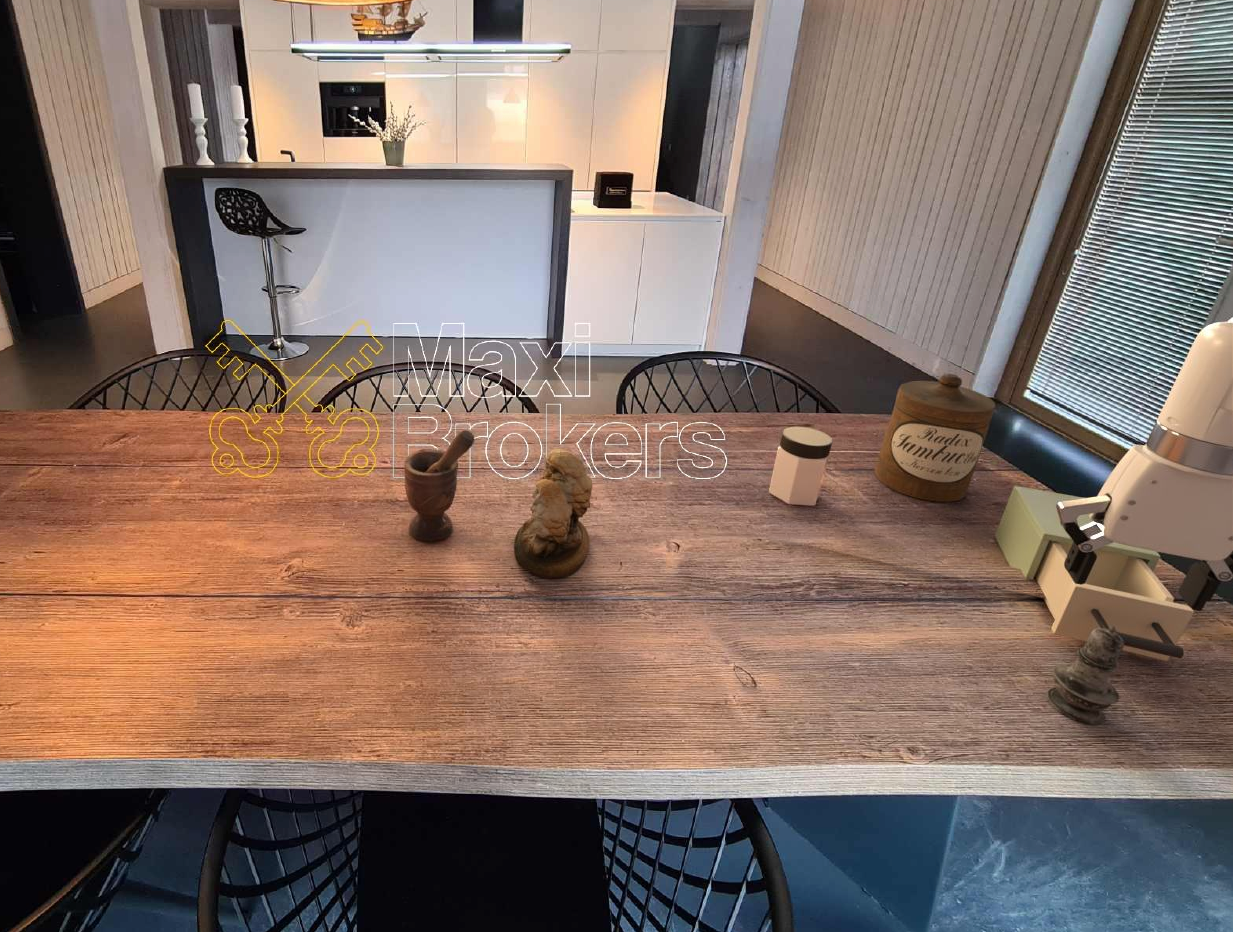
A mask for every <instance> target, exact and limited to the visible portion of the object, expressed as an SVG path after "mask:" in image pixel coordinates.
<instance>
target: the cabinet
mask: <svg viewBox="0 0 1233 932" xmlns="http://www.w3.org/2000/svg"><path fill="white" fill-rule="evenodd" d="M1084 498H1085V497H1081V496H1076V495H1069V494H1064V493H1059V492H1052V491H1048V490H1041V489H1036V488H1030V487H1025V486H1019V485H1013V488H1012V491H1011V493H1010V495H1009V498H1008V501H1007V503H1006V506H1005V509H1004V511H1003V513H1002V517H1001V518H1000V522H999V524H998V527H997V530H996V532H995V535H994V538H995V540H996V541H997V543H998V546H999V547H1000V550H1001V552H1002V553H1003V556H1004V557H1005V559H1006V562H1007V564H1008V565H1009V567H1010V568H1013V569H1017V570H1020V571H1021V573H1022V574H1023V577H1024V579H1026V580H1031V581H1034V578H1035V573H1036V571H1037V569H1038V566H1039V564H1040V562H1041V559H1042V557H1043V554H1044V552H1045V550H1046V547H1047V545H1048V543H1049V540H1052V541H1057V542H1062V543H1067V544H1073V542H1074V541H1073V540H1072V539H1071V537H1070V536H1069V535H1068V534H1067V532H1066V531H1065V529H1064V528H1063V527H1062V525H1061V523H1060V518H1059V515H1058V511H1057V508H1056V505H1057V504H1058V503H1059V502H1064V501H1071V500H1078V499H1084ZM1092 522H1094V521H1093V520H1091V518H1090V517H1089V514H1085V515H1080V516H1078V517H1077V523H1078V526H1079V527H1080V528H1081V527H1083V526H1085V525H1087V524H1090V523H1092ZM1097 550H1102V551H1107V552H1113V553H1118V554H1123V555H1128V556H1133V557H1138V558H1142V559H1143V561H1144V562H1145V563H1146V564H1147V566H1148V567H1149V568H1150V569H1151V571H1152V572H1153V573H1154V572H1155V569H1156V567H1157V566H1158V563H1159V560H1160V559H1161V557H1162V556H1161V554H1159V552H1157V551H1152V550H1147V549H1142V548H1138V547H1133V546H1128V545H1124V544H1119V543H1116V542H1113V543H1111V544H1108V545H1106V546H1104V547H1101V548H1099V549H1097Z"/></svg>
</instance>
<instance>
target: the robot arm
mask: <svg viewBox="0 0 1233 932" xmlns="http://www.w3.org/2000/svg"><path fill="white" fill-rule="evenodd" d="M1083 498H1084V499H1078V500H1071V501H1064V502H1059V503H1058V504H1057V505H1056V508H1057V511H1058V515H1059V518H1060V523H1061V525H1062V527H1063V528H1064V529H1065V531H1066V532H1067V534H1068V535H1069V536H1070V537H1071V539H1072V540H1073V541H1074V542H1073V544H1072V546H1071V548H1070V551H1069V553H1068V555H1067V557H1066V559H1065V562H1064V567H1065V569H1066V570H1067V571H1068V573H1069V575H1070V576H1071V578H1072V579H1073V581H1074V583H1076V584H1080V585H1082V584H1085V582H1086V580H1087V578H1088V576H1089V574H1090V572H1091V569H1092V567H1093V565H1094V563H1095V561H1096V559H1097V555H1096V554H1095V552H1094V550H1096V549H1099V548H1101V547H1104V546H1106V545H1108V544H1111V543H1113V542H1116V543H1119V544H1124V545H1128V546H1133V547H1138V548H1142V549H1147V550H1152V551H1157V553H1162V554H1168V555H1173V556H1178V557H1181V558H1182V557H1183V558H1188V559H1193V560H1198V561H1201V562H1197V561H1196V562H1194V564H1191V566H1190V567H1189V569H1188V571H1187V573H1186V575H1185V576H1184V579H1183V580H1182V582H1181V584H1180V586H1179V587H1178V590H1177V594H1178V595H1179V596H1180V598H1182V600H1183V601H1184V602H1185V604H1186V605H1187V606H1189V607H1190V608H1192V610H1193V611H1197V612H1201V611H1202V610H1203V609H1204V607H1205V605H1206V603H1207V602H1210V601H1211V600H1212V599H1213V597H1214V595H1215V593H1216V591H1217V590H1218V589H1219V586H1220V585H1221V582H1228V581H1231V580H1232V579H1233V317H1231V318H1230V319H1228V321H1219V322H1214V323H1212V324H1211V323H1210V324H1208V325H1206V326H1205V327H1203V328H1202V329H1201V330H1200V331H1199V332H1198V333H1197V336H1196V337H1195V339H1194V341H1193V343H1192V345H1191V347H1190V349H1189V351H1188V353H1187V355H1186V357H1185V359H1184V362H1183V364H1182V366H1181V368H1180V370H1179V372H1178V375H1177V377H1176V379H1175V381H1174V383H1173V385H1172V387H1171V389H1170V392H1169V394H1168V396H1167V398H1166V400H1165V402H1164V405H1163V406H1162V409H1161V411H1160V413H1159V415H1158V417H1157V419H1156V421H1155V423H1154V425H1153V427H1152V430H1151V432H1150V434H1149V436H1148V438H1147V440H1146V442H1145V445H1143V444H1134V445H1132V447H1130V448H1129V450H1128V451H1127V452H1126V453H1125V454H1124V456H1123V457H1122V458H1121V459H1120V460H1119V462H1118V463H1117V464H1116V466H1115V467H1114V468H1113V470H1112V471H1111V472H1110V474H1109V476H1108V477H1107V479H1106V481H1104V484H1103V485H1102V487H1101V489H1100V490H1099V492H1098V494H1097V495H1096V496H1092V497H1083ZM1085 514H1089V517H1090V518H1091V520H1093V521H1094V522H1092V523H1090V524H1087V525H1085V526H1083V527H1081V528H1080V527H1079V526H1078V523H1077V517H1078V516H1080V515H1085Z"/></svg>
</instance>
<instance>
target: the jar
mask: <svg viewBox="0 0 1233 932" xmlns="http://www.w3.org/2000/svg"><path fill="white" fill-rule="evenodd" d="M832 447H833V439H832V438H831V436H829V435H828V434H827V433H825V432H823V431H821V430H818V429H815V428H811V427H807V426H805V427H804V426H789V427H786V428H784V429H783V430H782V432H781V435H780V441H779V446H778V448H777V451H776V455H775V456H776V457H775V461H774V465H773V470H772V475H771V479H770V485H769V489H768V493H769V494H770V495H772V496H774V497H775V498H777V499H779V500H780V501H782V502H784V503H785V504H787V505H791V506H792V505H793V506H811V507H814V506H816V503H817V501H818V499H819V497H820V494H821V489H822V486H823V482H824V478H825V474H826V470H827V465H828V462H829V457H830V455H831V449H832Z"/></svg>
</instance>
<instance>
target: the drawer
mask: <svg viewBox="0 0 1233 932" xmlns="http://www.w3.org/2000/svg"><path fill="white" fill-rule="evenodd" d="M1071 546H1072V544H1067V543H1062V542H1057V541H1052V540H1049V543H1048V545H1047V547H1046V550H1045V552H1044V554H1043V557H1042V559H1041V562H1040V564H1039V566H1038V569H1037V571H1036V573H1035V576H1034V578H1035V580H1036V582H1037V583H1038V585H1039V587H1040V589H1041V591H1042V592H1043V594H1044V596H1045V597H1042V598H1043V601H1044V602H1045V604H1046V606H1047V608H1048V610H1049V612H1050V614H1051V615H1052V617H1053V619H1054V621H1053V623H1052V625H1051V628H1050V629H1051V631H1052V633H1053V634H1054V635H1057V636H1061V637H1065V638H1068V639H1069V638H1070V639H1073V640H1078V641H1080V642H1081V641H1082V642H1085V643H1086V642H1087V640H1088V638H1089V636H1090V634H1091V632H1092V631H1093V630H1095V629H1099V628H1102V629H1108V627H1112V626H1114V627H1115V629H1116V632H1115V633H1116V634H1118V635H1119V636H1120V637H1121V638H1122V639H1123V641H1124V647H1123V649H1122V651H1124V652H1127V653H1132V654H1136V655H1141V656H1144V657H1149V658H1152V659H1157V660H1161V661H1166V662H1168V660H1169V659H1170V657H1171V658H1176V659H1182V658H1183V657H1184V653H1185V651H1184V648H1183V646H1180V645H1178V642H1179V640H1180V639H1181V637H1182V636H1183V633H1184V632H1185V630H1186V628H1187V626H1188V624H1189V623H1190V621H1191V619H1192V617H1193V615H1194V613H1195V610H1193V609H1192V608H1190V607H1189V606H1188V604H1182V603H1179V602H1174V600H1175V598H1174V595H1172V594H1171V593H1170V592H1169V590H1168V589H1167V588H1166V586H1165V585H1164V584H1163V582H1162V581H1161V580H1160V578H1158V576H1157V575H1156V574H1155V573H1154V571H1153V572H1152V571H1151V569H1150V568H1149V567H1148V566H1147V564H1146V563H1145V562H1144V561H1143V559H1142V558H1138V557H1133V556H1128V555H1123V554H1118V553H1113V552H1107V551H1102V550H1097V549H1096V550H1094V552H1095V554H1096V555H1097V559H1096V561H1095V563H1094V565H1093V567H1092V569H1091V572H1090V574H1089V576H1088V578H1087V580H1086V582H1085V584H1082V585H1080V584H1076V583H1074V581H1073V579H1072V578H1071V576H1070V575H1069V573H1068V571H1067V570H1066V569H1065V567H1064V562H1065V559H1066V557H1067V555H1068V553H1069V551H1070V548H1071ZM1108 630H1109V629H1108Z"/></svg>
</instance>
